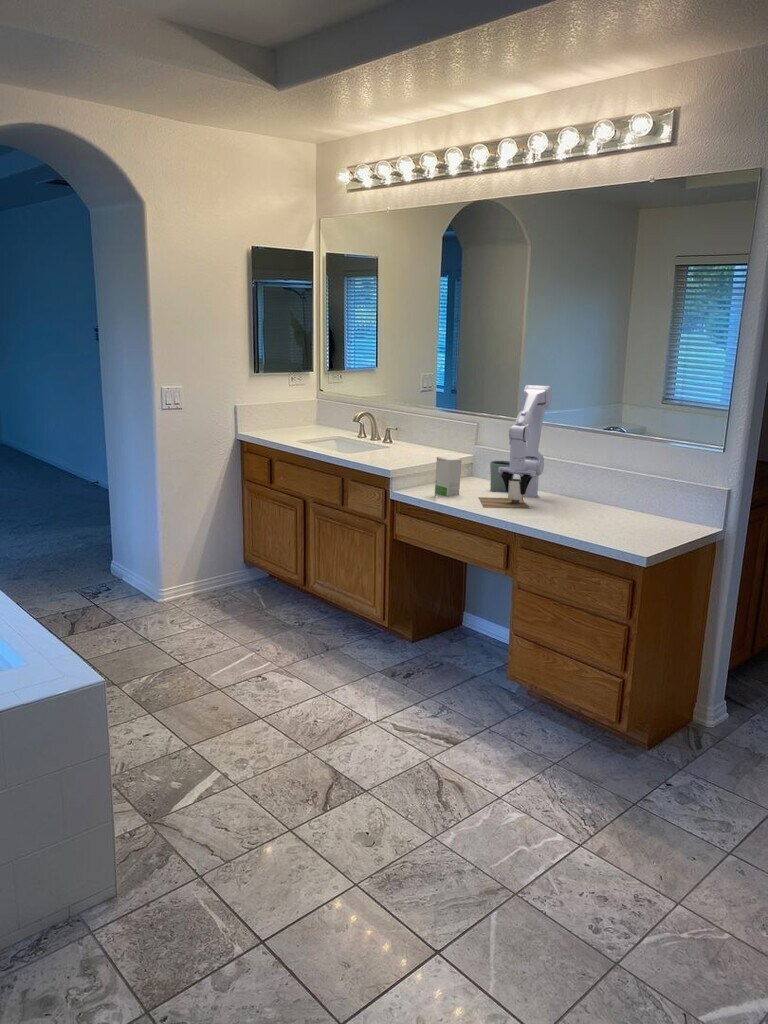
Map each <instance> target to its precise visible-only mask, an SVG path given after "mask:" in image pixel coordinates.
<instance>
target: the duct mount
mask: <svg viewBox="0 0 768 1024" xmlns="http://www.w3.org/2000/svg"><path fill="white" fill-rule="evenodd" d="M478 500H479V503H480V505H481V506H482V507H483V509H522V510H524V509H531V508H530V506H529V505H528V504H527V502H526V501H525V500H524V498H523V499H522V500H511V499H508V497H487V496H486V497H483V496H482V497H481V496H479V497H478Z"/></svg>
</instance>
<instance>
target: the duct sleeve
mask: <svg viewBox="0 0 768 1024" xmlns="http://www.w3.org/2000/svg"><path fill="white" fill-rule="evenodd" d="M521 487H522V484H521V479H520V478H513V479H509V485H508V493H507V498H508V499H511V500H522V499H523V500H524V496H523V495H521Z"/></svg>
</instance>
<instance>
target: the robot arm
mask: <svg viewBox="0 0 768 1024" xmlns="http://www.w3.org/2000/svg"><path fill="white" fill-rule="evenodd" d="M552 393H553V392H552V387H551V386H550V385H536V384H535V385H532V384H526V385H525V387H524V388H523V399H524V406H523V409H522V410H521V411H519V412H518V414H517V417H516V419H515V422H514V424H513V425H512V426H510V427H509V430H508V440H509V441H508V442H509V445H510V448H509V449H510V451H509V461H510V466H509V467H498V472H503V473H502V474H501V477H502V479H503V481H504V484H505V487H506V492H505V493H507V494H508V485H509V479H512V475H513V474H514V475H519V479H521V484H522V487H521V495H523V498H524V497H525V498H526V497H527V498H534V497H535V498H536V497H538V498H540V496H539V491H538V490H539V479H540V476H541V475H542V474H543V473H544V468H545V462H544V461H545V457H544V456H543V454H542V453H541V452H540V451H539V448H540V441H541V436H542V435H541V434H542V428H543V423H544V416H545V411H546V410H548V409H550V406H551V401H552V395H553V394H552Z"/></svg>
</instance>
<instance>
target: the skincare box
mask: <svg viewBox="0 0 768 1024" xmlns="http://www.w3.org/2000/svg"><path fill="white" fill-rule="evenodd" d="M462 461H463V459H462V458H458V457H456V456H453V455H452V456H451V455H441V456H436V461H435V462H436V463H435V464H436V465H435V466H436V467H435V477H434V478H435V479H434V480H435V481H434V496H437V495H440V496H445V497H454V496H459V495H460V487H461V485H460V484H461V473H462V472H461V471H462Z"/></svg>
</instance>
